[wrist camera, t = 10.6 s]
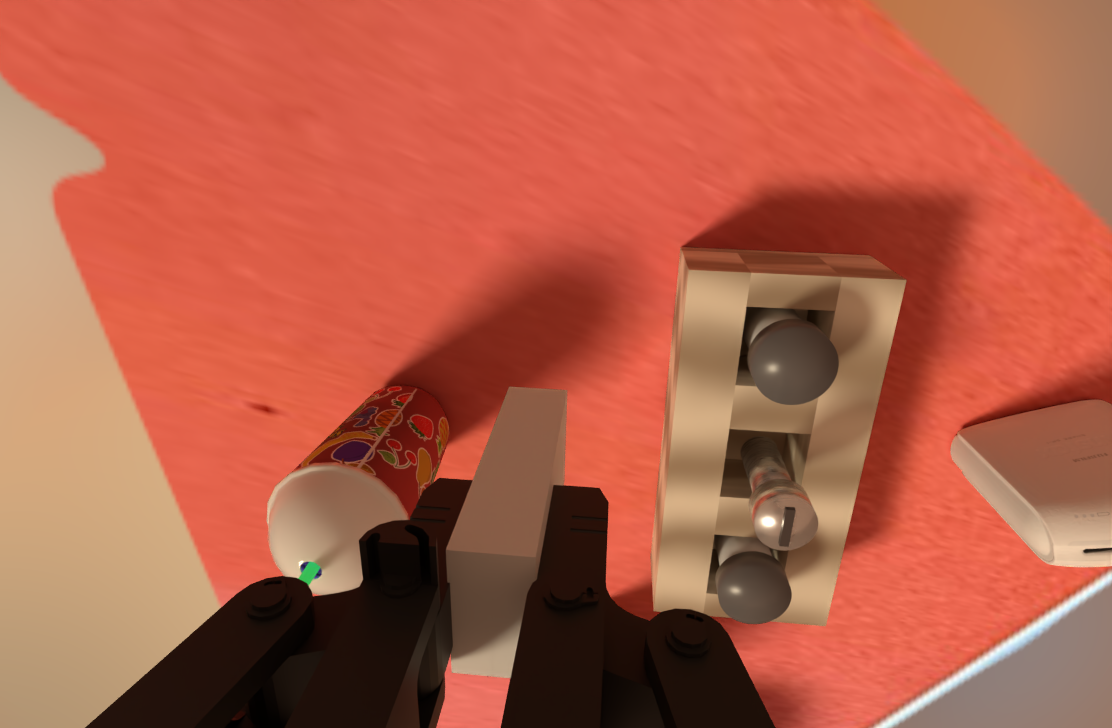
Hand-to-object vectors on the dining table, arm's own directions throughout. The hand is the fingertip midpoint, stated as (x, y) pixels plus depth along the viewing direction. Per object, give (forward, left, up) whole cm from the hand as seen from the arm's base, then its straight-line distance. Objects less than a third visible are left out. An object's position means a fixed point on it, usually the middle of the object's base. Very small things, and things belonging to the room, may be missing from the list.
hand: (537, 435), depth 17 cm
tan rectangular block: (+14, +12, -28) cm, 34 cm away
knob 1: (+5, +12, -27) cm, 30 cm away
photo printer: (+13, +31, -29) cm, 44 cm away
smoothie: (+15, -13, -29) cm, 35 cm away
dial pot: (+13, +12, -24) cm, 30 cm away
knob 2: (+22, +12, -27) cm, 37 cm away
